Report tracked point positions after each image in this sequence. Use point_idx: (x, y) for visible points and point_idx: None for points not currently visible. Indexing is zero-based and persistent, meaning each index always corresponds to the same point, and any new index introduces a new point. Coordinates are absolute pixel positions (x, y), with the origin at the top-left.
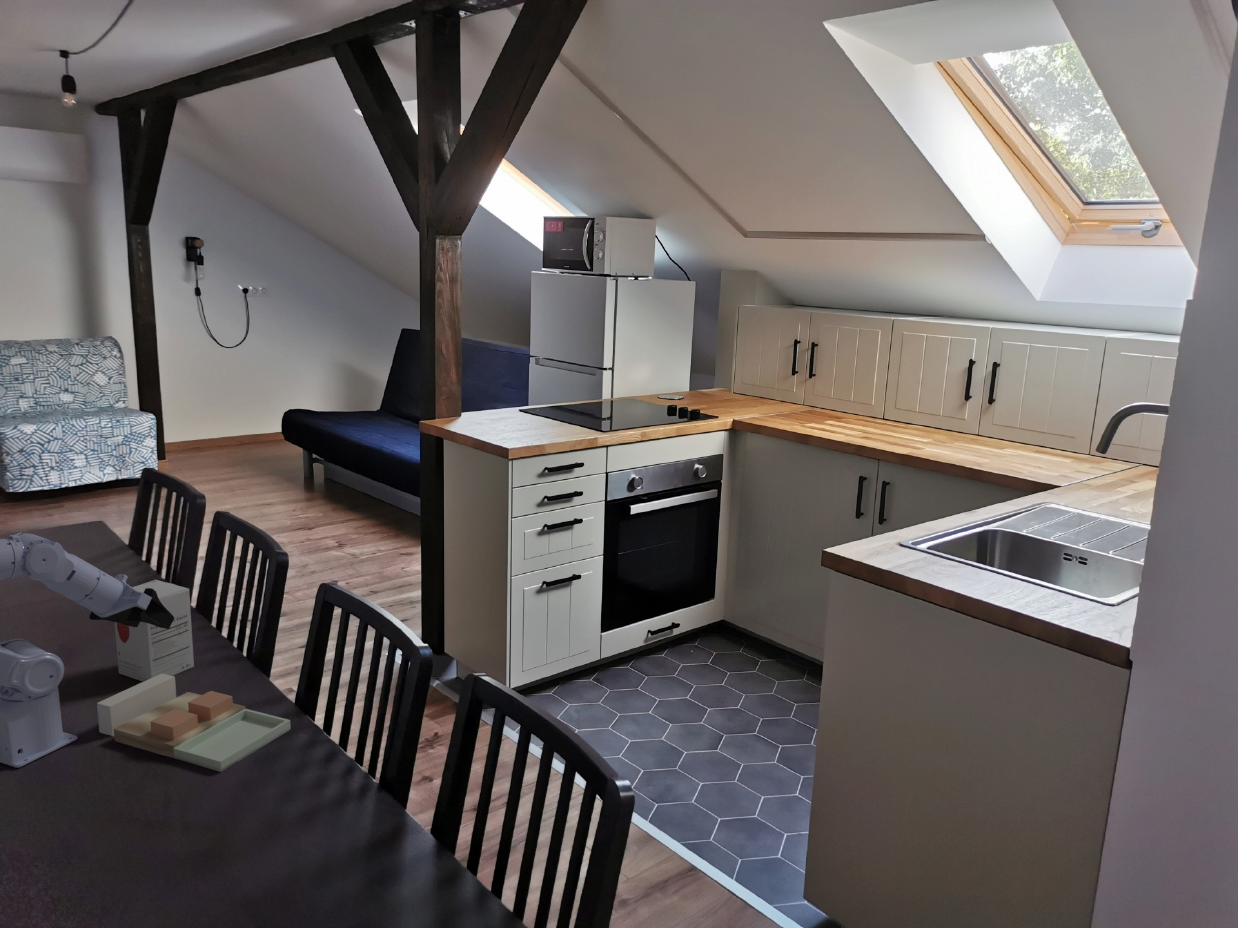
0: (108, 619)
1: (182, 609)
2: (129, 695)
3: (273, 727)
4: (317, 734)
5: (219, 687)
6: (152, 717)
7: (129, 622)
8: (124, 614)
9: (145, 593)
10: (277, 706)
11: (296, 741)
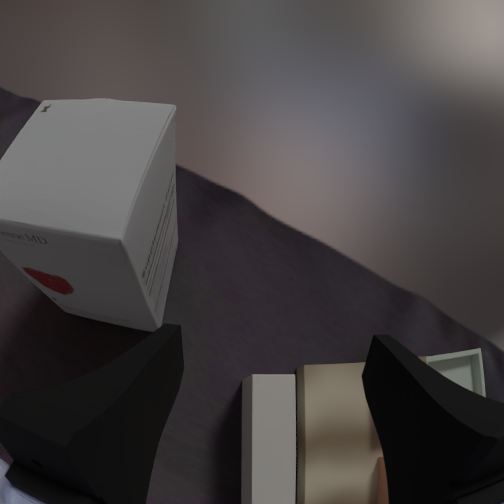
0: (148, 487)
1: (170, 167)
2: (286, 490)
3: (462, 363)
4: (492, 343)
5: (292, 293)
6: (333, 473)
7: (173, 394)
8: (154, 404)
9: (495, 459)
10: (418, 309)
11: (489, 369)
